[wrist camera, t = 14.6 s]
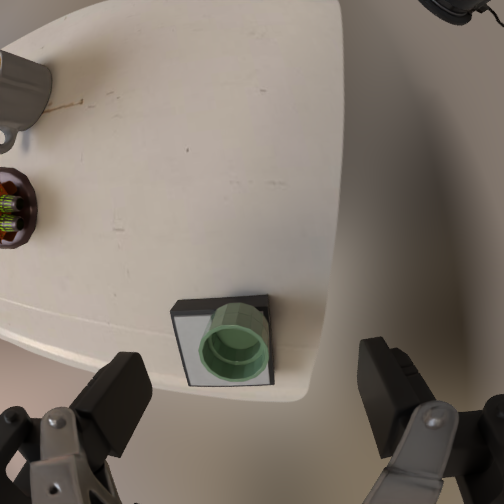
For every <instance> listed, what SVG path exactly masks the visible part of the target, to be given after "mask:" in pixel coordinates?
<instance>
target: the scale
mask: <svg viewBox="0 0 504 504" xmlns="http://www.w3.org/2000/svg"><path fill="white" fill-rule="evenodd" d="M229 303H244V304H248V305H251V306H253V307H255V308H256V309H257V310H259V311H260V312H261V313H262V314H263V315H264V317H265V318H266V320H267V322H268V325H269V361H268V363H267V366H266V368H265V370H264V371H263V372H261V373H260V374H259V375H258V376H257V377H256V378H253V379H250V380H247V381H245V382H229V381H226V380H222V379H219V378H217V377H216V376H214V375H213V374H211V373H210V372H208V371H207V369H206V368H205V367H204V365H203V364H202V363H201V361H200V356H199V352H198V349H199V345H200V341H201V338H202V336H203V334H204V331H205V329H206V326H207V324H208V322H209V319H210V317H211V315H212V314H213V313H214V312H215V311H216V310H217V309H218V308H219V307H222V306H224V305H226V304H229ZM170 314H171V319H172V323H173V328H174V332H175V336H176V340H177V344H178V348H179V352H180V356H181V360H182V364H183V367H184V371H185V375H186V378H187V382H188V385H189V386H197V387H235V386H262V385H274V384H275V380H274V360H273V348H272V336H271V324H270V313H269V301H268V295H255V296H242V297H227V298H210V299H191V300H178V301H177V302H176V303H175V305H174V306H173V308H172V309H171V310H170Z"/></svg>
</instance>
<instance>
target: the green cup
mask: <svg viewBox="0 0 504 504" xmlns="http://www.w3.org/2000/svg"><path fill="white" fill-rule="evenodd" d="M198 352H199V356H200V361H201V363H202V364H203V365H204V367H205V368H206V369H207V371H208V372H210V373H211V374H213V375H214V376H216V377H217V378H219V379H222V380H226V381H229V382H245V381H247V380H250V379H253V378H256V377H257V376H258V375H259V374H260V373H261V372H263V371H264V370H265V368H266V366H267V363H268V361H269V325H268V322H267V320H266V318H265V317H264V315H263V314H262V313H261V312H260V311H259V310H257V309H256V308H255V307H253V306H251V305H248V304H244V303H229V304H226V305H224V306H222V307H219V308H218V309H217V310H216V311H215V312H214V313H213V314H212V315H211V317H210V319H209V322H208V324H207V326H206V329H205V331H204V334H203V336H202V338H201V341H200V345H199V349H198Z"/></svg>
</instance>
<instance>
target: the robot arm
mask: <svg viewBox="0 0 504 504" xmlns="http://www.w3.org/2000/svg"><path fill="white" fill-rule="evenodd" d="M430 1H431V2H432V3H433V4H435V5H436V6H437V7H438V8H440V9H441V10H443V11H445V12H446V13H448V14H451V15H453V16H458V17H461V16H464V15H465V14H468V15H470V14H472V13H473V12H474V11H477V12H479V13H481V14H482V13H483V12H485V11H486V10H489V11H490V12H491V13H492V14H493V15H494V17H495V19H496V21H497V22H498V23H499V24H500V25H501V26H502V27H504V24H503V23H502V22H501V21H500V20H499V18H498V16H497V14H496V13H495V12H494V11H493V10H492V9H491V8H490V7H489V6H487V4H486V3H487V2H489V1H490V0H430ZM357 383H358V389H359V392H360V395H361V398H362V401H363V404H364V407H365V410H366V413H367V416H368V419H369V422H370V425H371V428H372V431H373V435H374V438H375V441H376V444H377V448H378V451H379V454H380V457H381V459H383V458H387V457H391V456H392V458H391V460H390V462H389V463H388V465H387V467H385V468H384V469H383V471H382V473H381V474H380V476H379V477H378V479H377V481H376V483H375V484H374V486H373V487H372V489H371V491H370V492H369V494H368V495H367V497H366V498H365V500H364V501H363V503H362V504H436V502H437V500H438V497H439V495H440V492H441V490H442V486H443V482H444V481H443V480H442V478H445V477H455V478H456V481H457V484H458V487H459V490H460V492H461V495H462V498H463V502H464V504H504V394H500V395H496V396H493V397H491V398H490V399H489V400H488V401H487V402H486V404H485V406H484V408H483V410H478V411H468V412H457V410H456V409H455V408H454V407H453V406H452V405H451V404H449V403H447V402H443V401H437V400H436V399H435V397H434V395H433V394H432V392H431V390H430V389H429V387H428V386H427V384H426V382H425V381H424V379H423V378H422V376H421V375H420V373H418V370H417V368H416V367H415V365H413V362H412V361H411V359H410V358H409V356H408V355H407V354H406V353H404V352H403V351H401V350H400V349H398V348H393V349H389V347H388V345H387V344H386V342H385V340H384V339H383V337H375V338H369V339H363V340H361V341H360V345H359V359H358V370H357ZM151 397H152V384H151V381H150V379H149V376H148V373H147V371H146V368H145V365H144V362H143V360H142V357H141V355H140V354H139V353H137V352H119V353H118V354H117V355H116V356H115V357H114V359H113V360H112V361H111V362H110V363H109V364H107V365H106V366H104V367H103V368H101V369H100V370H99V371H98V372H97V373H96V374H95V376H94V377H93V380H90V382H89V383H88V386H86V387H85V388H84V389H83V390H82V392H81V393H80V394H79V395H78V396H77V398H76V399H75V400H74V401H73V403H72V404H71V405H70V406H69V408H67V407H57V408H54V409H52V410H50V411H48V412H47V413H46V414H45V415H44V416H43V418H30V417H29V415H28V414H27V412H26V411H25V410H24V408H23V407H20V406H14V407H10V408H8V409H6V410H5V411H4V412H3V413H2V414H1V415H0V504H122V502H121V500H120V498H119V495H118V492H117V489H116V486H115V483H114V480H113V478H112V474H111V471H110V468H109V465H108V463H107V461H106V460H105V459H106V458H107V456H108V455H110V456H114V457H118V458H121V456H122V453H123V452H124V450H125V448H126V445H127V444H128V442H129V440H130V438H131V436H132V434H133V432H134V430H135V428H136V426H137V424H138V423H139V421H140V419H141V417H142V415H143V413H144V411H145V409H146V407H147V405H148V403H149V402H150V400H151ZM17 450H18V451H19V452H20V453H21V454H22V455H23V457H24V458H25V459H26V460H27V461H26V463H25V465H24V467H23V468H22V469H21V471H20V472H19V474H18V475H17V477H16V479H15V480H14V482H12V481H11V480H10V479H9V478H8V477H7V475H6V466H7V464H8V463H9V462H10V460H11V458H12V457H13V456H14V454H15V453H16V451H17ZM134 504H138V503H134Z"/></svg>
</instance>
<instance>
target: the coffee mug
mask: <svg viewBox="0 0 504 504" xmlns="http://www.w3.org/2000/svg"><path fill="white" fill-rule="evenodd" d="M51 86H52V78H51V73H50V71H49V69H48V68H47V67H45V66H43V65H41V64H38V63H35V62H33V61H30V60H28V59H25V58H22V57H19V56H17V55H14V54H11V53H8V52H5V51H2V50H0V130H1V131H2V132H3V133H4V135H5V142H4V144H0V154H3V153H6V152H7V151H9V150H10V149H11V148H12V146H13V145H14V142H15V139H16V136H17V133H18V131H24V130H26V129H28V128H29V127H31V126H32V125H33V124H34V123H35V122H36V121H37V120H38V118H39V117H40V115H41V114H42V112H43V110H44V109H45V106H46V104H47V102H48V99H49V96H50V92H51Z"/></svg>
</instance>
